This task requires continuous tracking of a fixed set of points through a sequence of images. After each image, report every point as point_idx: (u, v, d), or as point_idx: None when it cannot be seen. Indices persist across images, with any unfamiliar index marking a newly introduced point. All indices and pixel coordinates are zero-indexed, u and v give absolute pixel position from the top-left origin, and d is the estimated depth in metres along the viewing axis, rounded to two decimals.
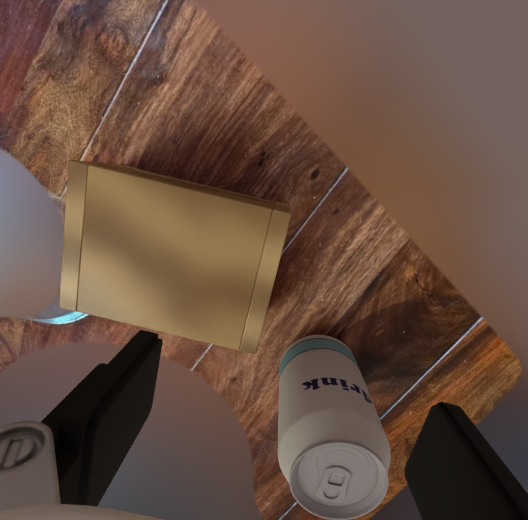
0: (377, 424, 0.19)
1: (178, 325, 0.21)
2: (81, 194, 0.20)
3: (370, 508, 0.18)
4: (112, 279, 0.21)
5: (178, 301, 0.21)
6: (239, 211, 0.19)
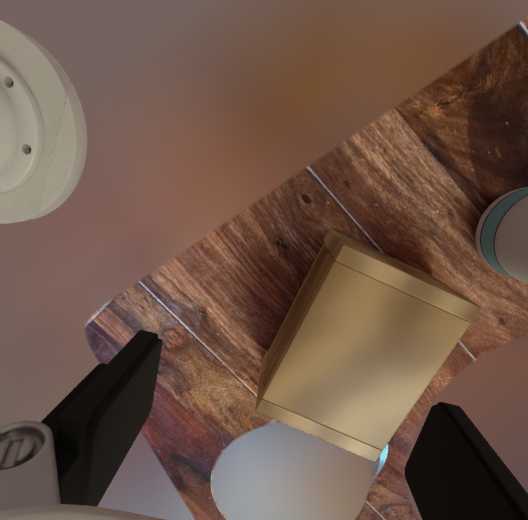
0: None
1: (424, 371, 0.22)
2: (283, 411, 0.23)
3: None
4: (362, 412, 0.23)
5: (399, 364, 0.22)
6: (329, 290, 0.21)
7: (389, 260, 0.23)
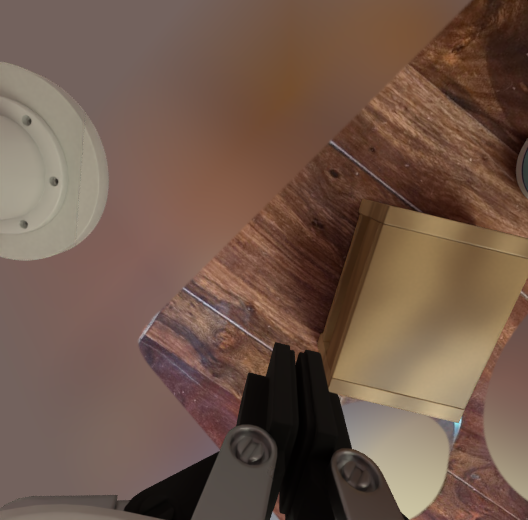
0: None
1: (494, 319, 0.21)
2: (356, 386, 0.23)
3: None
4: (436, 373, 0.22)
5: (467, 317, 0.21)
6: (382, 255, 0.20)
7: None
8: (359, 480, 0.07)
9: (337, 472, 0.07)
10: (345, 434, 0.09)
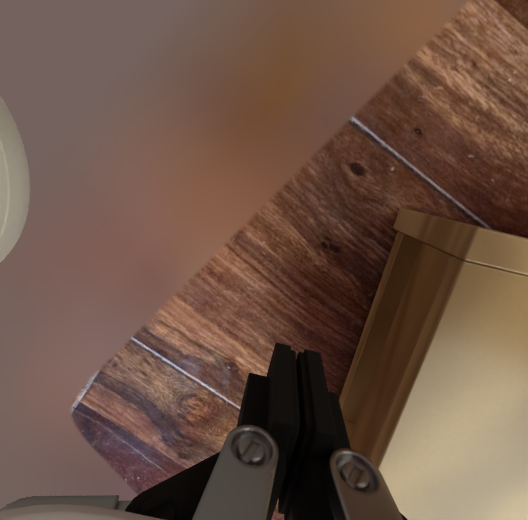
0: None
1: None
2: None
3: None
4: None
5: None
6: (458, 316, 0.11)
7: None
8: (357, 480, 0.07)
9: (336, 472, 0.07)
10: (344, 434, 0.09)
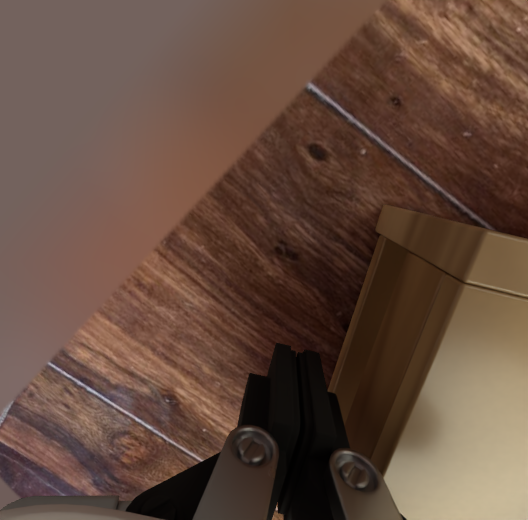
0: None
1: None
2: None
3: None
4: None
5: None
6: (456, 367, 0.07)
7: None
8: (357, 481, 0.07)
9: (336, 472, 0.07)
10: (344, 433, 0.09)
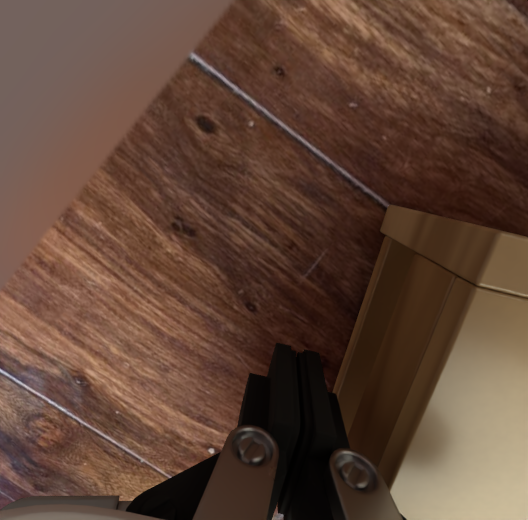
0: None
1: None
2: None
3: None
4: None
5: None
6: (468, 374, 0.07)
7: None
8: (357, 481, 0.07)
9: (336, 472, 0.07)
10: (343, 433, 0.09)
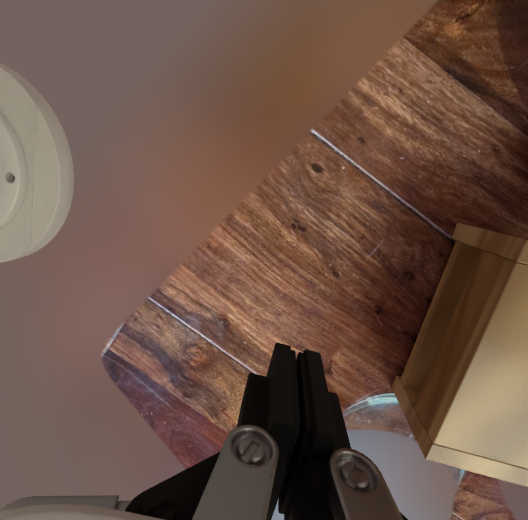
0: None
1: None
2: (462, 455, 0.19)
3: None
4: None
5: None
6: (512, 300, 0.16)
7: None
8: (357, 481, 0.07)
9: (336, 472, 0.07)
10: (344, 433, 0.09)
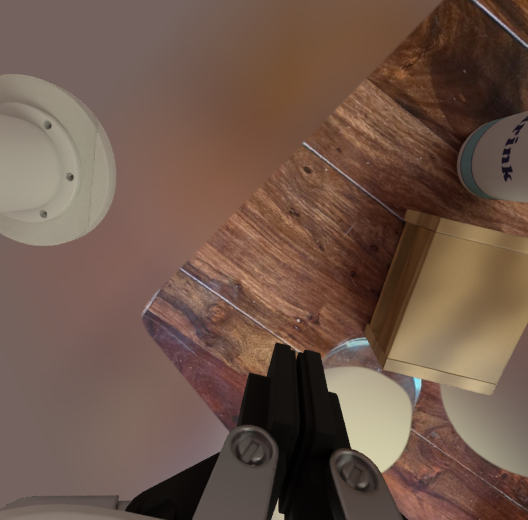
0: None
1: (523, 309, 0.26)
2: (406, 365, 0.28)
3: None
4: (474, 354, 0.27)
5: (501, 307, 0.26)
6: (434, 257, 0.25)
7: None
8: (358, 480, 0.07)
9: (336, 472, 0.07)
10: (345, 434, 0.09)
